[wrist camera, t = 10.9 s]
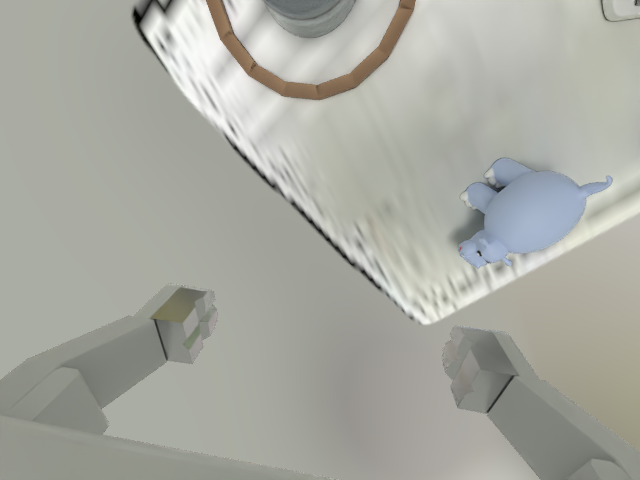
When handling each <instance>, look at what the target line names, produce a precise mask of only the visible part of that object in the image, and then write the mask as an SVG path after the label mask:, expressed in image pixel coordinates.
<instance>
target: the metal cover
mask: <svg viewBox="0 0 640 480" xmlns="http://www.w3.org/2000/svg"><path fill="white" fill-rule="evenodd" d="M262 1H263V3H264V4H265V6H266V7H267V9H268V10H269V12H270V13H271V15H272V16H273V18H274V19H275V20H276V21H277V22H278V24H279V25H280V26H282V27H283V28H284V29H285V30H287V31H288V32H290V33H292V34H294V35H296V36H299V37H304V38H315V37H320V36H323V35H325V34H327V33H329V32H331V31H333V30H334V29H335V28H337V27H338V26H339V25H340V24H341V23H342V22H343V21H344V19H345V18H346V17H347V15H348V14H349V12H350V11H351V9H352V7H353V5H354V3H355V0H262Z"/></svg>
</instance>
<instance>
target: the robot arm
mask: <svg viewBox="0 0 640 480" xmlns="http://www.w3.org/2000/svg"><path fill="white" fill-rule="evenodd" d="M602 1H603V10H604V14H605V17H606V18H607V19H608V20H610V21H620V20H627V19H635V18H640V0H637V4H636V6H635V5H634V2H635V0H602ZM214 300H215V294H214V291H212V290H208V289H202V288H197V287H191V286H185V285H184V286H183V285H177V284H172V283H170V284H167V285H165V286H164V287H163V288H162V289H161V290H160V291H159V292H158V293H157V294H156V295H155V296H154V297H153V298H152V299H151V300H150V301H148V302H147V303H146V304H145V305H144V306H143V307H142V308H141V309H140V310H139V311H138V312H137V313H136V314H135V315H134V316H126V317H124V318H122V319H120V320H117V321H115V322H113V323H110V324H108V325H105V326H103V327H101V328H99V329H96V330H94V331H91V332H89V333H87V334H84V335H82V336H80V337H78V338H75V339H73V340H70V341H68V342H66V343H63V344H61V345H59V346H56V347H54V348H52V349H49V350H47V351H45V352H42V353H40V354H38V355H35V356H33V357H31V358H28V359H27V360H26V361H24V362H23V363H22V364H20V365H19V366H18V367H16V368H15V369H14V370H12V371H11V372H10V373H9V374H7V375H6V376H5V377H4V378H2V379H1V380H0V480H339V479H334V478H329V477H323V476H318V475H313V474H308V473H303V472H297V471H292V470H287V469H281V468H276V467H271V466H266V465H260V464H255V463H250V462H245V461H239V460H234V459H229V458H223V457H218V456H212V455H208V454H202V453H197V452H192V451H187V450H180V449H176V448H170V447H165V446H160V445H155V444H150V443H144V442H139V441H134V440H128V439H123V438H118V437H112V436H107V435H103V433H104V432H105V431H106V429H107V428H108V420H107V418H106V416H105V415H104V413H103V411H102V408H104V407H105V406H106V405H108V404H109V403H110V402H112V401H113V400H115V399H116V398H118V397H119V396H120V395H122V394H123V393H124V392H126V391H127V390H129V389H130V388H131V387H133V386H134V385H136V384H137V383H138V382H140V381H141V380H143V379H144V378H145V377H147V376H148V375H149V374H151V373H152V372H154V371H155V370H157V369H158V368H159V367H161V366H162V365H164V364H165V363H166V362H167V361H174V362H181V363H188V364H193V362H194V361H195V359H196V358H197V356H198V354H199V353H200V351H201V350H202V348H203V342H202V340H204V339H206V338H207V337H209V336H210V335H211V334H212V332H213V330H214V328H215V325H216V322H217V315H218V313H217V308H216V307H215V306H214V305H213V304H212V303H213V302H214ZM450 335H451V338H452V340H450V341H448V342H447V343H445V346H444V348H443V354H442V361H443V367H444V370H445V373H446V374H447V375H448V376H449V377H450V378H451V379H452V380H453V381H452V383H451V385H450V387H451V391H452V393H453V396H454V399H455V402H456V405H457V408H460V409H465V410H470V411H475V412H480V413H485V414H487V416H488V417H489V419H490V420H491V421H492V422H493V423H494V424H495V426H496V427H497V428H498V429H499V430H500V432H501V433H502V434H503V435H504V436H505V438H506V439H507V440H508V441H509V442H510V444H511V445H512V446H513V447H514V448H515V449H516V451H517V452H518V453H519V454H520V455H521V457H522V458H523V459H524V460H525V461H526V462H527V464H528V465H529V466H530V467H531V469H532V470H533V471H534V472H535V473H536V475H537V476H538V477H539V478H540V479H541V480H640V452H639V451H637V450H636V449H635V448H634V447H632V446H631V445H630V444H628V443H627V442H626V441H624V440H623V439H622V438H620V437H619V436H618V435H616V434H615V433H614V432H613V431H611V430H610V429H609V428H607V427H606V426H605V425H603V424H602V423H601V422H599V421H598V420H597V419H595V418H594V417H592V416H591V415H590V414H589V413H588V412H586V411H585V410H584V409H582V408H581V407H580V406H578V405H577V404H575V403H574V402H573V401H572V400H570V399H569V398H568V397H566V396H565V395H564V394H562V393H561V392H560V391H559V390H557V389H556V388H555V387H553V386H552V385H551V384H549V383H548V382H546V381H544V380H540V379H539V378H538V376H537V375H536V373H535V372H534V370H533V369H532V367H531V366H530V364H529V363H528V361H527V360H526V358H525V357H524V356H523V354H522V353H521V351H520V350H519V348H518V347H517V345H516V344H515V342H514V341H513V340H512V338H511V336H510V335H509V334H507V333H506V332H501V331H494V330H485V329H478V328H471V327H463V326H455V327H453V329H452V330H451V332H450Z"/></svg>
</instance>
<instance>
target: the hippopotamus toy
mask: <svg viewBox="0 0 640 480" xmlns="http://www.w3.org/2000/svg"><path fill="white" fill-rule="evenodd" d="M484 177H485V178H489V183H490V184H491V185H495V184H496V188H501V187H503V186H506V187H505V188H504V189H503V190H501V191H500V192H499V193H497V192H496V191H494V190H493V189H491V188H490V187H488V186H487V185H485V184H483V183H474V184H472V185H470V186H469V187H468V188H467V190H466V191H465V192H464V193H462V194H461V196H460V199H461V200H463V201H465V205H466V206H468V207H471V208H472V209H473V210H475V209H478V210H480V211H481V212H482V213H484V214H485V217H484V229H482V230H480V231H478V232H477V233H475V234H474V235H473V237H472V238H471V239H470V240H466V241H463V242H462V243H460V245H459V246H458V251H459V252H460V256H461V257H463V258H464V259H465V260H466V261H467V262H469V263H470V264H471V265H474V266H475V267H477V268H479V267H480V266H483V265H486V264H487V263H495V262H497V261H500V260H502V261H503V262H504V263H505V264H506V265H508V266H510V265H512V262H511V261H510V260H508V259H506V255H507V253H508V252H510V253H530V252H535V251H539V250H542V249H544V248H547V247H549V246H551V245H553V244H555V243H556V242H558V241H559V240H561V239H562V238H563V237H565V236H566V235H567V234H568V233H569V232H570V231H571V230H572V229H573V228H574V226H575V225H576V224H577V223H578V221H579V220H580V218H581V216H582V214H583V212H584V209H585V206H586V197H588V196H590V195H592V194H594V193H597V192H600V191H602V190H604V189H606V188H607V187H609V186H610V185H611V183H612V180H613V179H612V177H611V176H606V179H607V182H596V183H589V184H586V185H583V186H581V187H579V186H578V185H577V184H576V183H575V182H574V181H573V180H572V179H570V178H569V177H567V176H565V175H563V174H561V173H558V172H553V171H539V172H535V171H533V170H531V169H529V168H527V167H525V166H524V165H522V164H520V163H518V162H516V161H514V160H512V159H509V158H501V159H499V160H497V161H496V162H495V163H494V164H493V165H492V167H491V168H490V169H489V170H488V171H487V172H486V173H485V174H484Z"/></svg>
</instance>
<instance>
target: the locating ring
mask: <svg viewBox="0 0 640 480" xmlns="http://www.w3.org/2000/svg"><path fill="white" fill-rule="evenodd" d="M415 1H416V0H400V2H399V8H398V10H397V12H396V14H395V16H394V18H393V20H392V22H391V24H390V25H389V27H388V29H387V31H386V33H385V35H384V37H383V39H382V41H381V43H380V45H379V46H378V47H377V48H376V49H375V50H374V51H373V52H372V53H371V54H370V55H369V56H368V57H367V58H366V59H365V60H364V61H362V62H361V63H360V64H359V65H358V66H357V67H356V68H355V69H354V70H353V71H352V72H351V73H349V74H346V75H344V76H341V77H338V78H335V79H333V80H330V81H327V82H324V83H322V84H319V85H313V84H303V83H294V82H285V81H283V80H282V79H280V78H278V77H277V76H275V75H273V74H272V73H270V72H268V71H267V70H265V69H263V68H262V67H260V66H258V65H257V64H256V62H255V61H254V60H253V58H252V57H251V56H250V54H249V53H248V52H247V50H246V49H245V48H244V47H243V45H242V44H241V43H240V41H239V40H238V39H237V37H236V36H235V35H234V32H233V29H232V27H231V24H230V21H229V18H228V15H227V12H226V9H225V7H224V4H223V1H222V0H206V2H207V5H208V7H209V10H210V13H211V15H212V18H213V21H214V24H215V26H216V29H217V32H218V34H219V37H220V40H221V41H222V42H223V44H224V45H225V46H226V47H227V49H228V50H229V51H230V53H231V54H232V55H233V56H234V58H235V59H236V60H237V62H238V63H239V64H240V65H241V67H242V68H243V69H244V70H245V72H246V73H247V74H248V75H249V76H250V77H252V78H254V79H255V80H257V81H259V82H260V83H262V84H264V85H265V86H267V87H269V88H270V89H272V90H274V91H275V92H277V93H279V94H280V95H282V96H287V97H296V98H305V99H314V100H321V99H324V98H327V97H330V96H333V95H335V94H338V93H341V92H344V91H347V90H350V89H353V88H355V87H356V86H357V85H359V84H360V83H361V82H362V81H363V80H364V79H365V78H366V77H367V76H368V75H370V74H371V73H372V72H373V71H374V70H375V69H376V68H377V67H378V66H379V65H381V64H382V63H383V62H384V61H385V60H386V59H387V58H388V56H389V55H390V53H391V51H392V49H393V47H394V45H395V44H396V42H397V40H398V38H399V36H400V34H401V32H402V31H403V29H404V27H405V25H406V23H407V21H408V20H409V18H410V16H411V14H412V12H413V10H414V6H415Z"/></svg>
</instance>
